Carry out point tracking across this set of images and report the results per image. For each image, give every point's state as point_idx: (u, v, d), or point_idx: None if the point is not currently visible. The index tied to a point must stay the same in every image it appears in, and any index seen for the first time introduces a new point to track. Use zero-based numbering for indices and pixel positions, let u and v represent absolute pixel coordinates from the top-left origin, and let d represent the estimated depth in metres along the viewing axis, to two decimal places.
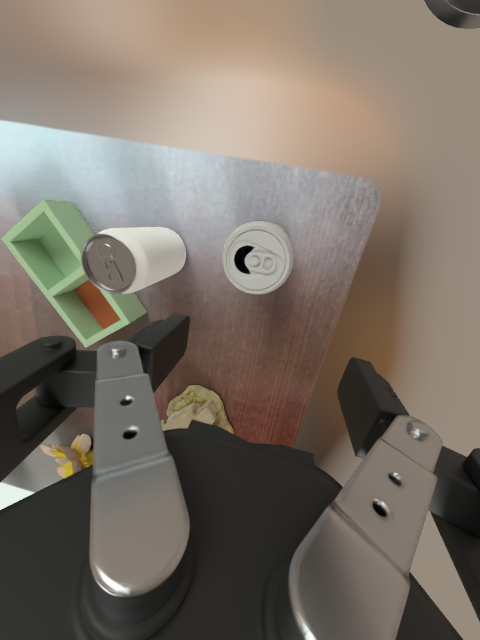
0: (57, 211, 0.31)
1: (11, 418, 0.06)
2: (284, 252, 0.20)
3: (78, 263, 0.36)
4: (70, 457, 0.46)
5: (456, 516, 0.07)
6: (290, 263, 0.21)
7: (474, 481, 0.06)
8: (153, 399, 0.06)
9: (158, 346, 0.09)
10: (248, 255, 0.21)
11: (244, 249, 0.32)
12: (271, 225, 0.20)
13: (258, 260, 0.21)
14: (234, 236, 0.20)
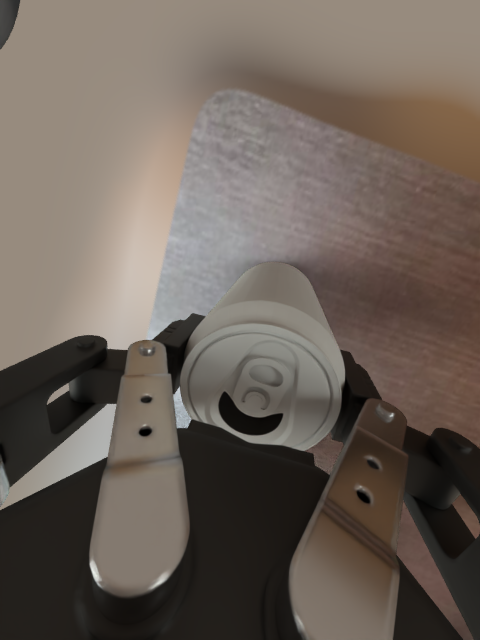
0: None
1: (42, 412, 0.06)
2: (248, 332, 0.08)
3: None
4: None
5: (419, 490, 0.07)
6: (282, 314, 0.08)
7: (434, 457, 0.07)
8: (172, 399, 0.06)
9: (182, 345, 0.09)
10: (240, 407, 0.09)
11: None
12: (192, 337, 0.09)
13: (254, 391, 0.09)
14: None
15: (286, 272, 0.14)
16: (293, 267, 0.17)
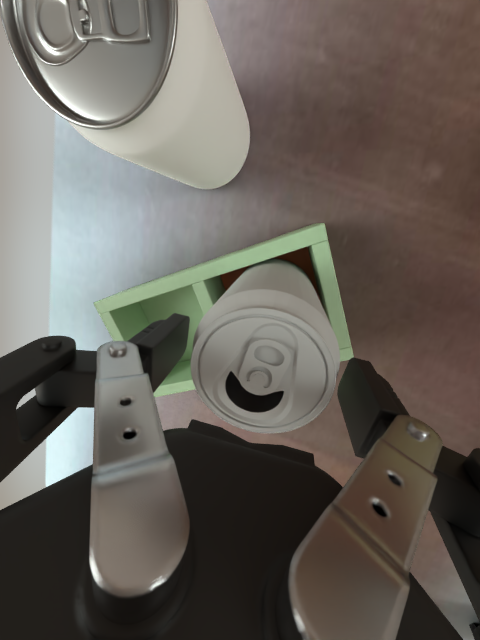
0: (114, 295, 0.20)
1: (11, 418, 0.06)
2: (252, 316, 0.09)
3: None
4: None
5: (456, 516, 0.07)
6: (283, 301, 0.09)
7: (474, 481, 0.06)
8: (153, 399, 0.06)
9: (158, 346, 0.09)
10: (245, 386, 0.10)
11: None
12: (201, 323, 0.10)
13: (257, 370, 0.09)
14: (205, 399, 0.10)
15: (286, 267, 0.15)
16: (293, 263, 0.18)
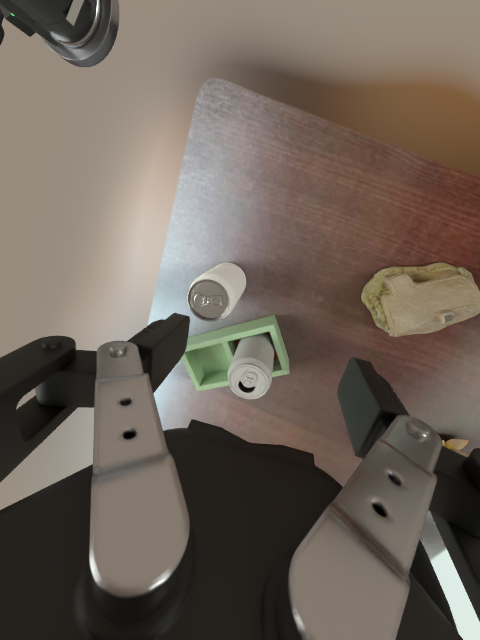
0: None
1: (11, 418, 0.06)
2: (246, 366, 0.33)
3: (225, 353, 0.47)
4: None
5: (456, 516, 0.07)
6: (254, 361, 0.33)
7: (474, 481, 0.06)
8: (153, 399, 0.06)
9: (158, 346, 0.09)
10: (244, 385, 0.34)
11: None
12: (231, 366, 0.35)
13: (247, 380, 0.34)
14: (232, 389, 0.35)
15: (260, 339, 0.39)
16: (264, 332, 0.42)
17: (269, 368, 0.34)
